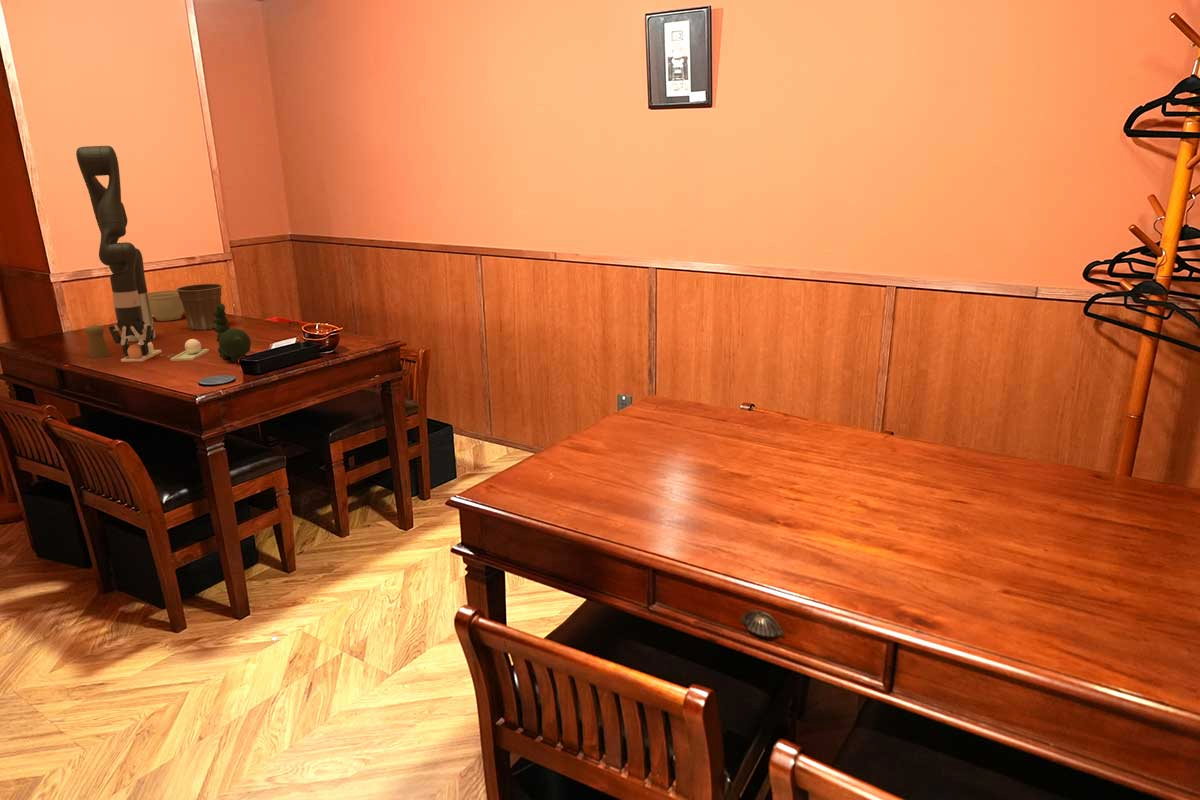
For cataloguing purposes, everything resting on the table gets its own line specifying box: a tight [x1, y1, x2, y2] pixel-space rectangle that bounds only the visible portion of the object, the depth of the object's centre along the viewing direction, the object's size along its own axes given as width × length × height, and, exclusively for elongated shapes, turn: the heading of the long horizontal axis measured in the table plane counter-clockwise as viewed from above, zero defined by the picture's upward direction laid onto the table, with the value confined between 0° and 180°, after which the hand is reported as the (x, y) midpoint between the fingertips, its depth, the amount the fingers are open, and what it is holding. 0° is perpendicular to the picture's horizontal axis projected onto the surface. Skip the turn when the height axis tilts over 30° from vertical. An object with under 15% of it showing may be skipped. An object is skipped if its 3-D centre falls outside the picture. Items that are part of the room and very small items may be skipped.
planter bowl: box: [148, 289, 185, 322], centre depth 336 cm, size 16×16×11 cm
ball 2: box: [137, 341, 154, 354], centre depth 274 cm, size 5×5×5 cm
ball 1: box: [127, 343, 143, 359], centre depth 268 cm, size 5×5×5 cm
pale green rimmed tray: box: [169, 348, 210, 362], centre depth 272 cm, size 13×7×1 cm, turn 2°
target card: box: [159, 353, 175, 358], centre depth 272 cm, size 8×6×1 cm
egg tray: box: [120, 349, 162, 363], centre depth 272 cm, size 13×7×1 cm, turn 2°
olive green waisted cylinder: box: [85, 324, 111, 359], centre depth 272 cm, size 6×6×11 cm
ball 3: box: [184, 338, 202, 354], centre depth 275 cm, size 5×5×5 cm
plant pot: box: [175, 283, 223, 331], centre depth 317 cm, size 16×16×16 cm
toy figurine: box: [213, 302, 252, 364], centre depth 267 cm, size 9×19×25 cm
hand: (136, 355), depth 269 cm, fingers closed on ball 1, 5 cm apart
